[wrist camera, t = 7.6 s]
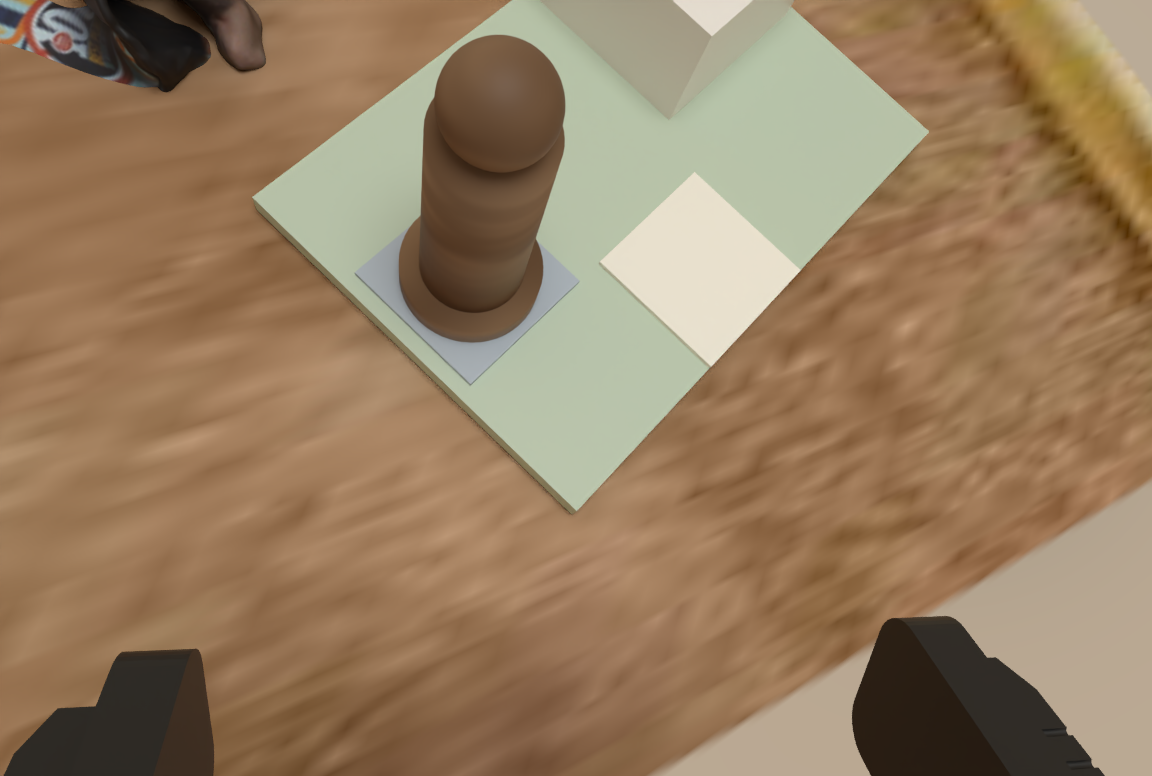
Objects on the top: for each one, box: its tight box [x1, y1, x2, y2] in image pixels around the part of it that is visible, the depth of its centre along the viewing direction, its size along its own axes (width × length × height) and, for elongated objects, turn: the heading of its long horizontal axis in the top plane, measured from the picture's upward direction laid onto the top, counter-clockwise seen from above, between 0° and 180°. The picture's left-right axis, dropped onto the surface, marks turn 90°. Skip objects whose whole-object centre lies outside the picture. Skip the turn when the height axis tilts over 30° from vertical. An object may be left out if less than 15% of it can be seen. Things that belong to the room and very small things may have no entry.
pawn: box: [399, 35, 566, 343], centre depth 22 cm, size 4×4×11 cm
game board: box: [252, 0, 929, 514], centre depth 30 cm, size 14×20×1 cm
